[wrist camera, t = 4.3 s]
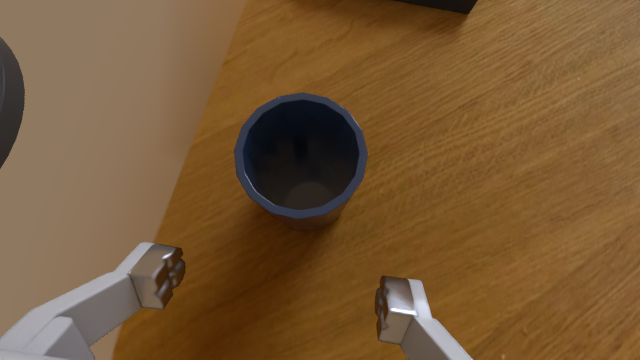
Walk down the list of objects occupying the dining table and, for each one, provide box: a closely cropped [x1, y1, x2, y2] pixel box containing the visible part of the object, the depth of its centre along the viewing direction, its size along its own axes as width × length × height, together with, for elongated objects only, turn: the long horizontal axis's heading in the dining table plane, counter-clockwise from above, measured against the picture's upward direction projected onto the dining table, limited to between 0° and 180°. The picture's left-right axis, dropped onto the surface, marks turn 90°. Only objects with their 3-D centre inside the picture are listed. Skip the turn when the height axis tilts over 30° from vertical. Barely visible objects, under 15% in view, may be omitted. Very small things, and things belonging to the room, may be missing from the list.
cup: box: [234, 93, 368, 232], centre depth 17 cm, size 6×6×9 cm
